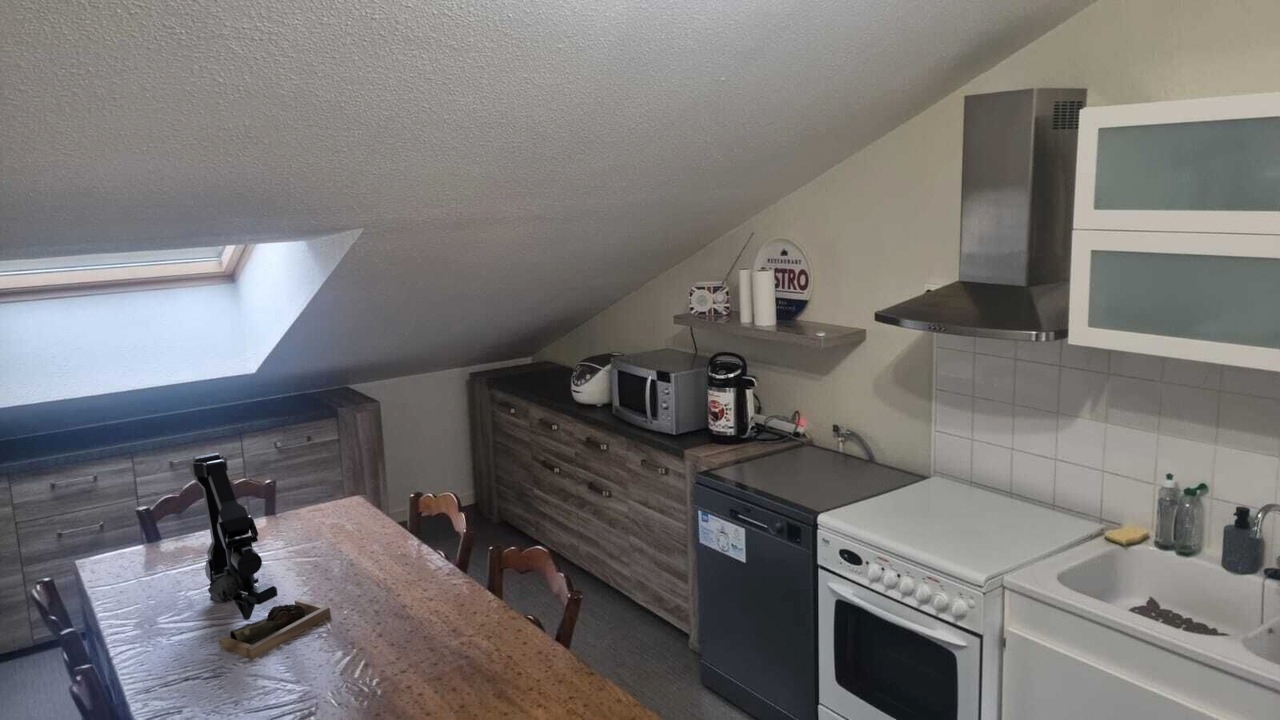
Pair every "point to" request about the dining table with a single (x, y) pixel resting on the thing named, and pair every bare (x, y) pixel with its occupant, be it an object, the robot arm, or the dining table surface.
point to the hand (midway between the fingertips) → (247, 619)
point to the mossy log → (269, 623)
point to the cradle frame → (252, 651)
